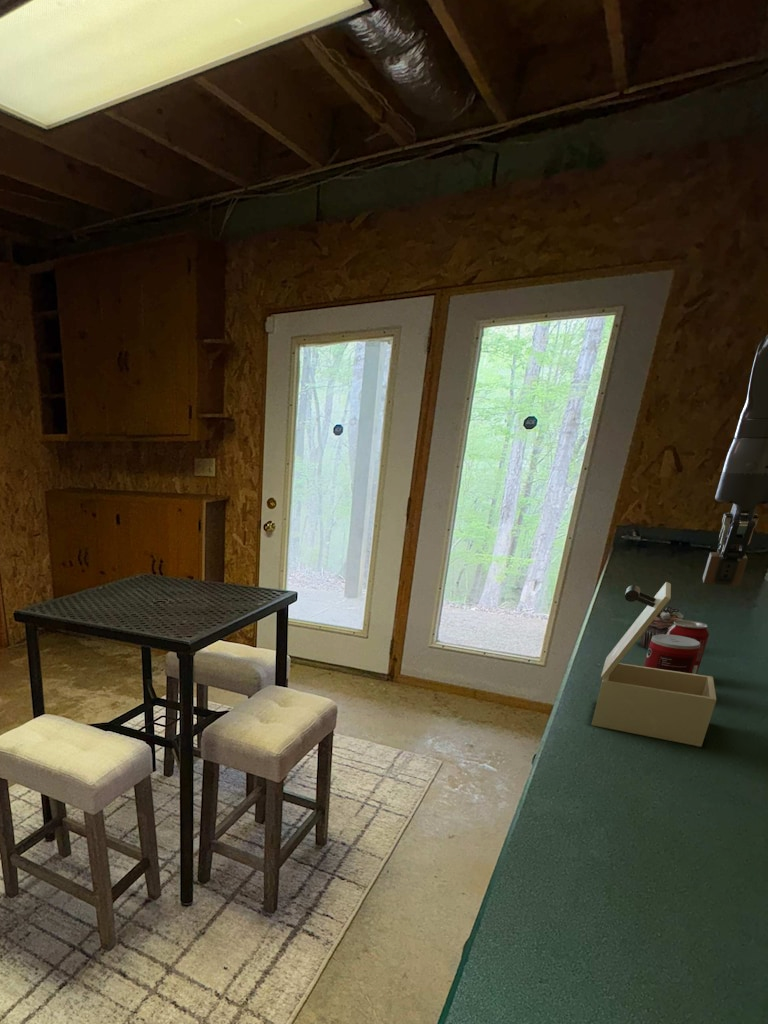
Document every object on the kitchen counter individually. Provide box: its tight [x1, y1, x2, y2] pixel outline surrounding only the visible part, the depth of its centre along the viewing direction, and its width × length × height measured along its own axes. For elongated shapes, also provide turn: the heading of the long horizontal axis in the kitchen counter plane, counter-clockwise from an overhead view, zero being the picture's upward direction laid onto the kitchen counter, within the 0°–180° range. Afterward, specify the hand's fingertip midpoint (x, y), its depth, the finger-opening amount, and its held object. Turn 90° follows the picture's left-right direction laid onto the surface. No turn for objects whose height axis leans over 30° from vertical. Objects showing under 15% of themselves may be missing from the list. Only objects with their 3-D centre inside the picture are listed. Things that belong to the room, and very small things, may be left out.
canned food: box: [643, 634, 700, 674], centre depth 125 cm, size 8×8×11 cm
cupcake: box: [640, 605, 686, 650], centre depth 150 cm, size 10×10×10 cm
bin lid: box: [600, 581, 672, 680], centre depth 111 cm, size 16×13×5 cm
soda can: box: [667, 619, 710, 674], centre depth 132 cm, size 7×7×12 cm
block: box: [702, 551, 748, 587], centre depth 100 cm, size 4×4×4 cm
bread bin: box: [591, 662, 717, 748], centre depth 112 cm, size 16×13×9 cm
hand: (721, 580), depth 101 cm, fingers closed on block, 4 cm apart
